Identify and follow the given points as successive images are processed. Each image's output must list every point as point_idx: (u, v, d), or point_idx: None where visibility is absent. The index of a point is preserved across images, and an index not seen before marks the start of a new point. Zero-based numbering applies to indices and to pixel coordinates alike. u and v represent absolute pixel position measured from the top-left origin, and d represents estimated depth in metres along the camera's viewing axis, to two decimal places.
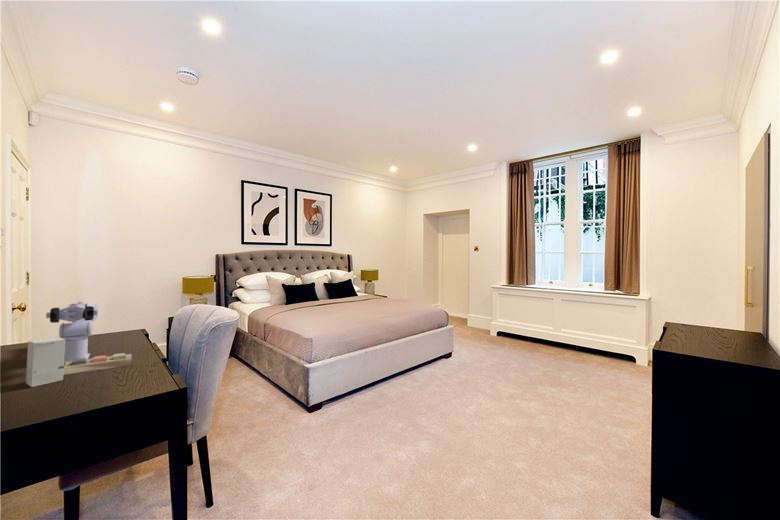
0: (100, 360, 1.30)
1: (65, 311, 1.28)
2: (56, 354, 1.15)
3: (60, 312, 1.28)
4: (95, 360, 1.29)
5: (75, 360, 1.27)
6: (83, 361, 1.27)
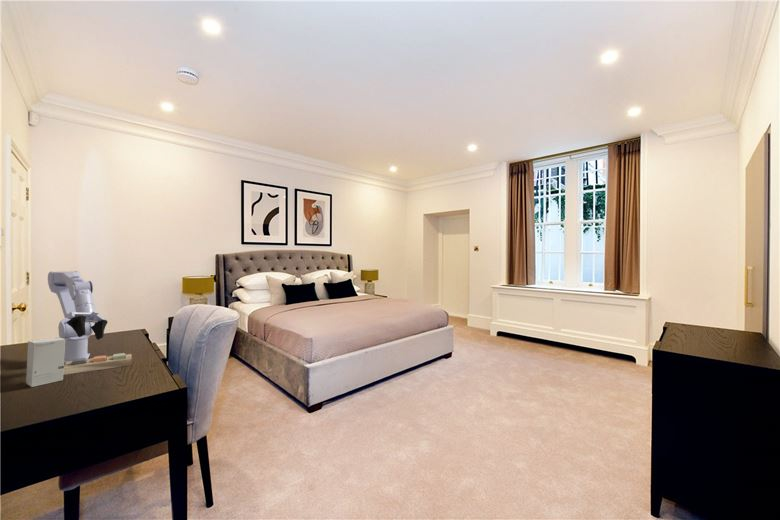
0: (100, 360, 1.30)
1: (85, 316, 1.28)
2: (57, 354, 1.15)
3: (80, 315, 1.27)
4: (95, 360, 1.29)
5: (75, 360, 1.27)
6: (83, 361, 1.27)
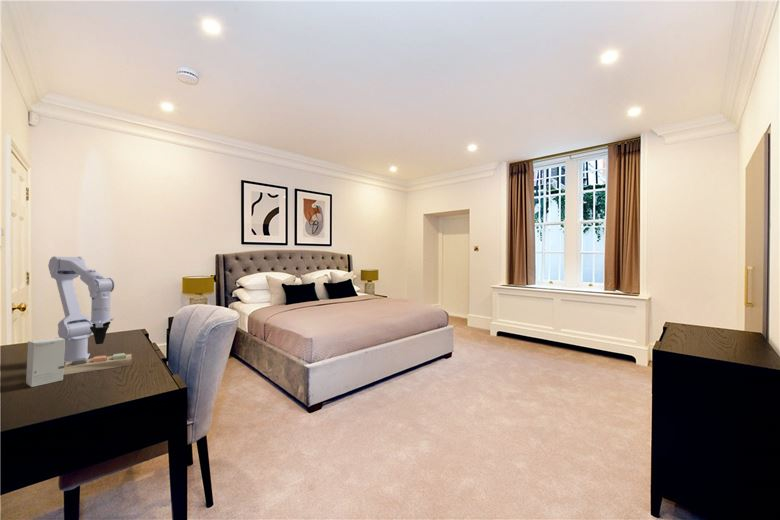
0: (100, 360, 1.30)
1: None
2: (56, 354, 1.15)
3: (102, 322, 1.30)
4: (95, 360, 1.29)
5: (75, 360, 1.27)
6: (83, 361, 1.27)
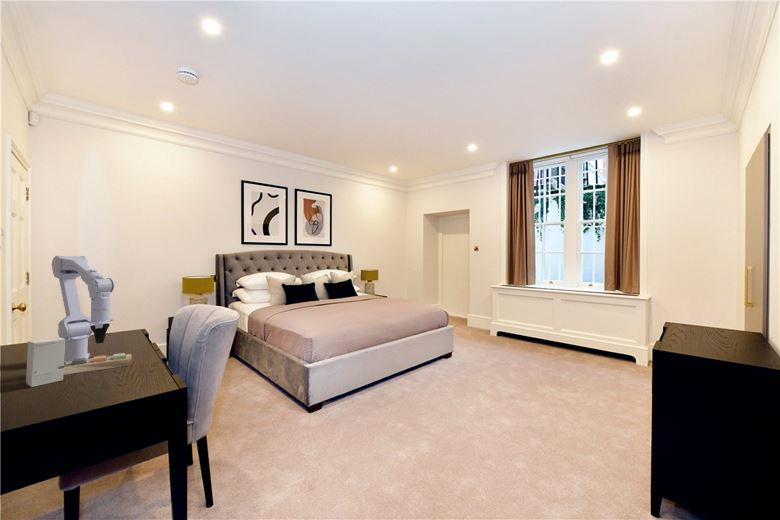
0: (100, 360, 1.30)
1: None
2: (56, 354, 1.15)
3: None
4: (95, 360, 1.29)
5: (75, 360, 1.27)
6: (83, 361, 1.27)
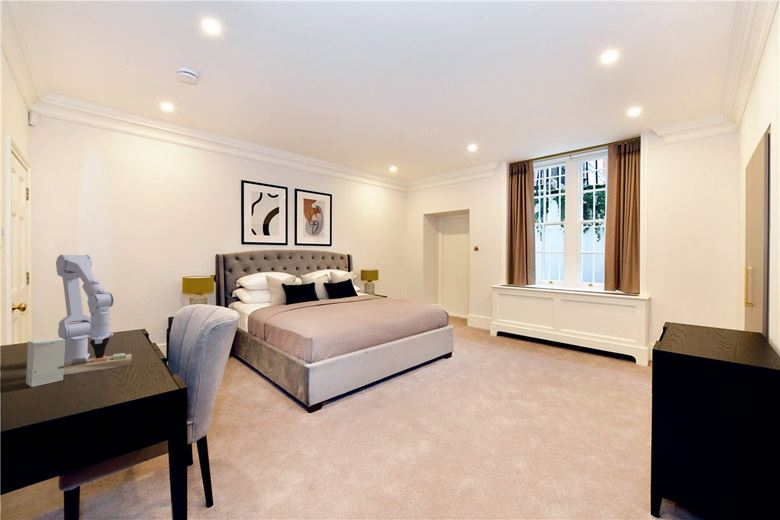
0: (100, 360, 1.30)
1: None
2: (56, 354, 1.15)
3: None
4: (95, 360, 1.29)
5: (75, 360, 1.27)
6: (83, 361, 1.27)
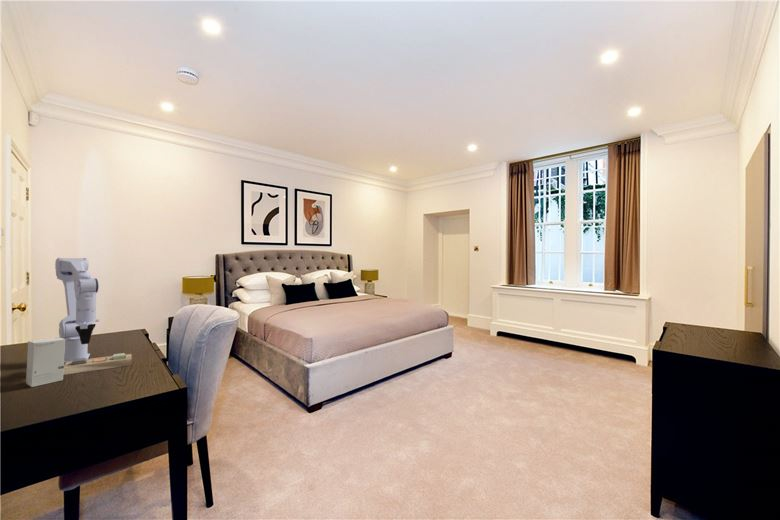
0: None
1: None
2: (56, 354, 1.15)
3: None
4: None
5: (75, 360, 1.27)
6: (83, 361, 1.27)
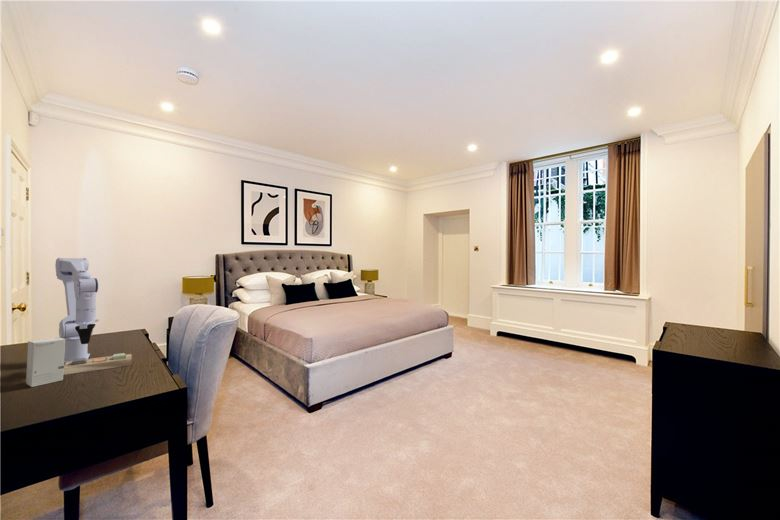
0: None
1: None
2: (56, 354, 1.15)
3: None
4: None
5: (75, 360, 1.27)
6: (83, 361, 1.27)
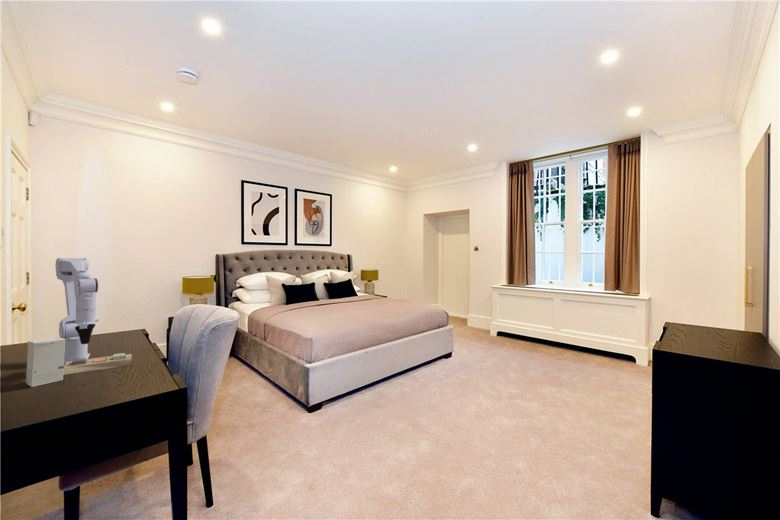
0: None
1: None
2: (56, 354, 1.15)
3: None
4: None
5: (75, 360, 1.27)
6: (83, 361, 1.27)
